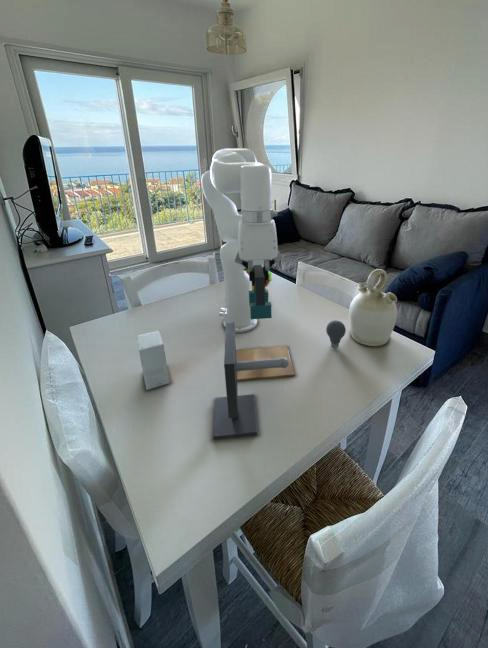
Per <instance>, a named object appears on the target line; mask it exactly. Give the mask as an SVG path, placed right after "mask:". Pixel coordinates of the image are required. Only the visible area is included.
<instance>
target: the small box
mask: <svg viewBox="0 0 488 648" xmlns="http://www.w3.org/2000/svg"><path fill="white" fill-rule="evenodd" d="M136 341H137V348H138V354H139V358H140V362H141V368H142V374H143V379H144V384H145V385H144V386H145V390H146V391H148V390H152V389H155V388H158V387H161V386H165V385H168V384H170V383H171V382H170V381H171V380H170V375H169V369H168V363H167V358H166V357H167V356H166V350H165V344H164V340H163V337H162V334H161V331H160V330H155V331H150V332H146V333H142V334H137V335H136Z"/></svg>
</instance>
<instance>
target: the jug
mask: <svg viewBox="0 0 488 648" xmlns="http://www.w3.org/2000/svg"><path fill="white" fill-rule="evenodd" d="M377 277H379V280H378V282H377V283H376V284H375V282H376V280H377ZM387 277H388V275H387V272H386V271H385V270H384V269H382V268H376V269H374V270H372V271H371V272H370V274H369V275H368V277H367V280H366V285H365V284H364V283H363V282H359V283H358V289H357V290H358V291H359V293H358V294H356V295H355V296H354V298H353V299H352V300H351V302H350V304H349V308H348V318H349V320H348V321H349V329H350V333H351V336H352V337H351V338H352V339H353V340H354V341H356V342H357V343H359V344H361V345H364V346H367V347H368V346H369V347H380V346H383V345H386V344H387V343H388V341H389V339H390V337H391V335H392V333H393V331H394V328H395V326H396V323H397V320H398V314H399V313H398V307H397V305H396V303H397V301H398V298H397V296H396V294H394V293H393V292H391V291H388V292H386V293H385V292H383V291H382V289H383V288H384V287H385V285H386V283H387ZM374 284H375V285H374Z"/></svg>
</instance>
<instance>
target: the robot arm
mask: <svg viewBox="0 0 488 648" xmlns="http://www.w3.org/2000/svg"><path fill="white" fill-rule="evenodd" d="M200 181H201V182H200V183H201V189H202V193H203V195H204V198H205V200H206V202H207V204H208V205H209V207H210V209H211V211H212V212H213V215H214V220H215V225H216V228H217V233H218V237H219V238H220V240H221V241H223V243H224V244H222V246H220V249H219V259H220V264H221V267H222V272H223V280H224V281H223V282H224V294H225V307H226V308H224V307H221V308H220V309H219V313H218V315H219V316H220V317H224V319H223V322H222V323H223V327H224V328H225V329H226V323H230V322H234V328H235V333H245V332H248V331H251V330H254V329H255V328H256V327H257V325H258V319H251V315H250V306H249V291H252V285H255V271H254V268H253V265H262V266H263V268H262V269H263V273H264V277H265V284H266V280H268V270H269V271H270V270H271V268H272V267H273V266H274V265H275V264H276V263H278V262H280V261H282V260H283V257H282V255H281V253H280V251H279V248H278V236H277V227H276V223H275V220H274V219H273V218H274V217H278V215H279V214H278V213H279V212H278V210H274V209H272V208H273V207H272V201H273V200H272V170H271V167H270V166H269V165H267V164H263V163H262V162H259V161H257V156H256V154H255V152H254V151H253V150H252V149H250V148H221V149H218V150H216V152H215V153H214V154H213V155H212V159H211V165H210V169H209V170H207V171H205V172H204V173H203V174H202V175H201V180H200ZM233 193H234V194H236V193H237V194H238V193H240V199H241V203H240V204H241V214H239V212H238V209H237V206H236V204H235V203H234V201H233V200H231V199H230V198H229V197H227V195H225V194H233ZM245 269H246V270H247V269H248V271H249V275H248V274H247V273H246V272H245V271H246V270H245ZM251 281H252V282H251Z"/></svg>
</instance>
